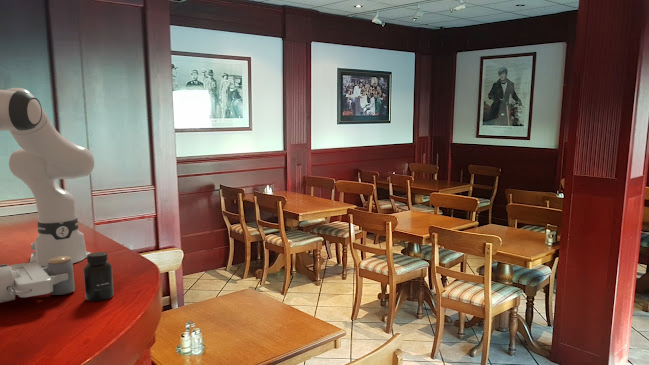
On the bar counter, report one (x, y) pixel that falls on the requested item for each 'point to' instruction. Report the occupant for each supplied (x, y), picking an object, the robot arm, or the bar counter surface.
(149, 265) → the bar counter surface
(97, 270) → the supplement bottle
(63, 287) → the sugar jar
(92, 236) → the bar counter surface
